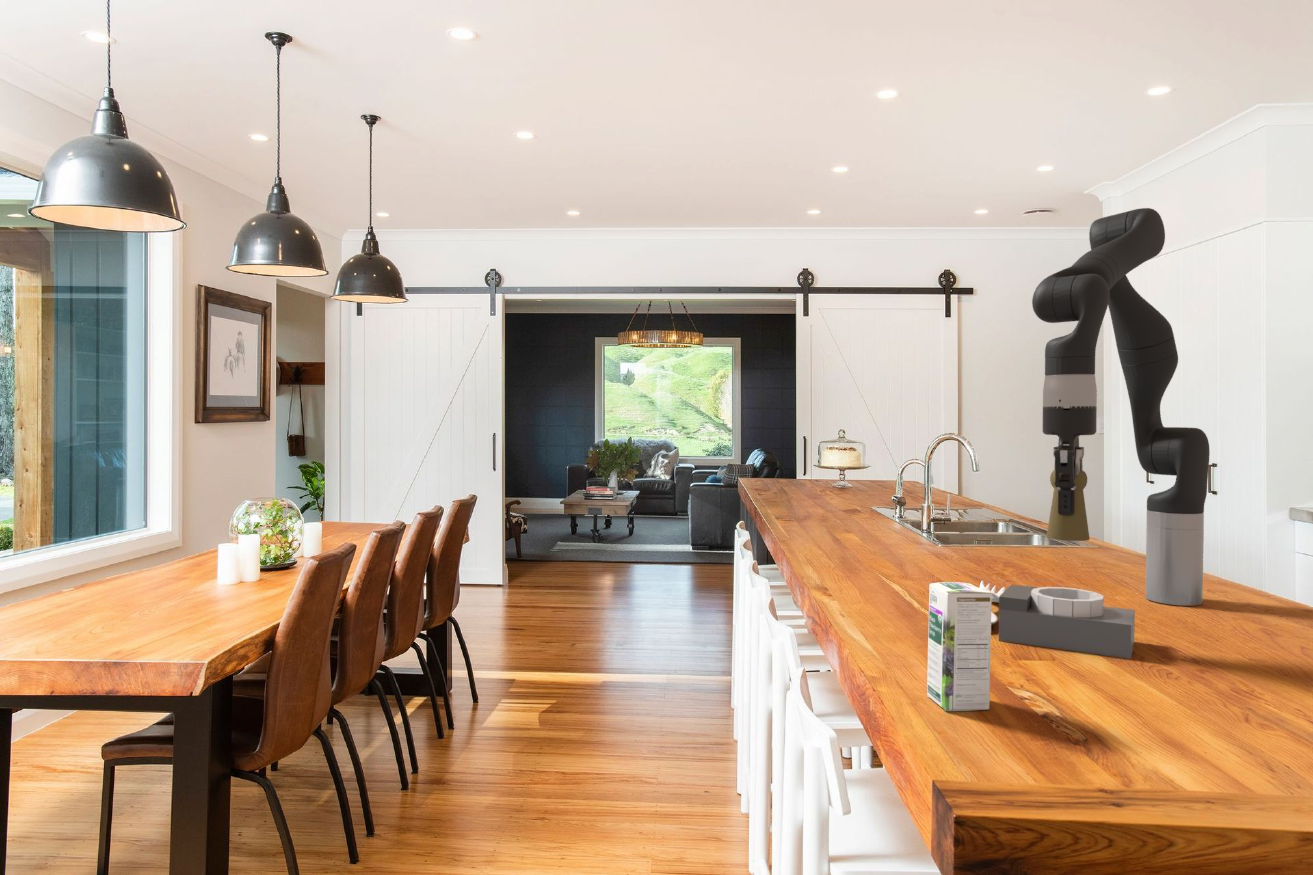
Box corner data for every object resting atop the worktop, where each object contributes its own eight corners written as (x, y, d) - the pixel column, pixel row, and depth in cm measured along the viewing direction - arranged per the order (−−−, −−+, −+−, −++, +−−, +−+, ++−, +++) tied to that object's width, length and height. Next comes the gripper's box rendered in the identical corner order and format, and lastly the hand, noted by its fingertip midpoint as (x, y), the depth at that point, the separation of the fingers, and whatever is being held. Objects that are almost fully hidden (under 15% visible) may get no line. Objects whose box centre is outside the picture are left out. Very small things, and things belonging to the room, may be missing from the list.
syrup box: (925, 696, 103) (926, 581, 102) (970, 694, 103) (971, 581, 103) (945, 712, 97) (945, 591, 96) (992, 710, 97) (993, 590, 97)
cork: (1095, 541, 124) (1096, 469, 123) (1052, 540, 125) (1053, 468, 125) (1082, 536, 129) (1083, 467, 129) (1042, 534, 131) (1042, 466, 131)
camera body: (1010, 625, 137) (1011, 581, 137) (1134, 641, 127) (1135, 593, 127) (998, 640, 128) (999, 593, 128) (1130, 659, 118) (1131, 607, 118)
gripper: (1049, 405, 135) (1048, 507, 135) (1036, 404, 123) (1035, 516, 123) (1100, 404, 131) (1099, 510, 131) (1092, 403, 119) (1091, 520, 119)
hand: (1068, 512), depth 127 cm, fingers closed on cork, 4 cm apart
